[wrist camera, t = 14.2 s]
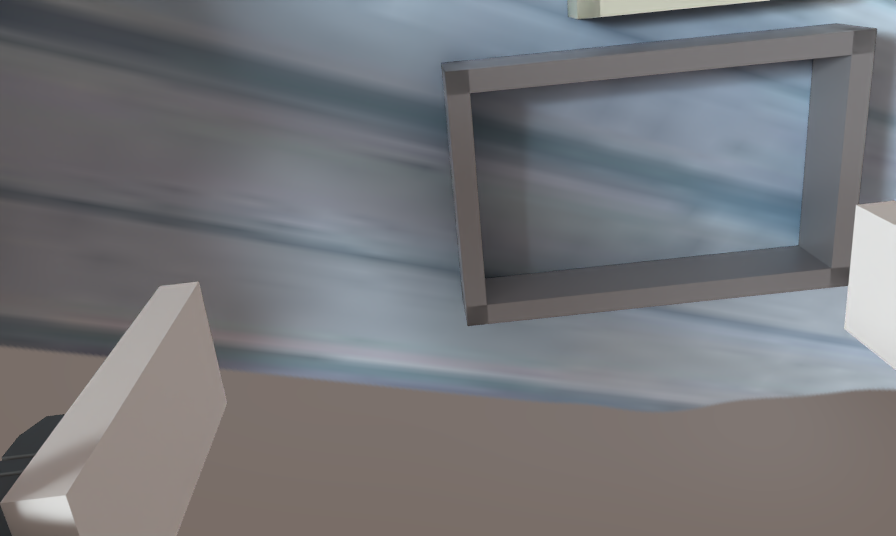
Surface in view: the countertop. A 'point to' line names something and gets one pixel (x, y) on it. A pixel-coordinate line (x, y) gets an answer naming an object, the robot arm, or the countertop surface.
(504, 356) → the countertop surface
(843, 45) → the bin
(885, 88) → the countertop surface
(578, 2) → the tray
